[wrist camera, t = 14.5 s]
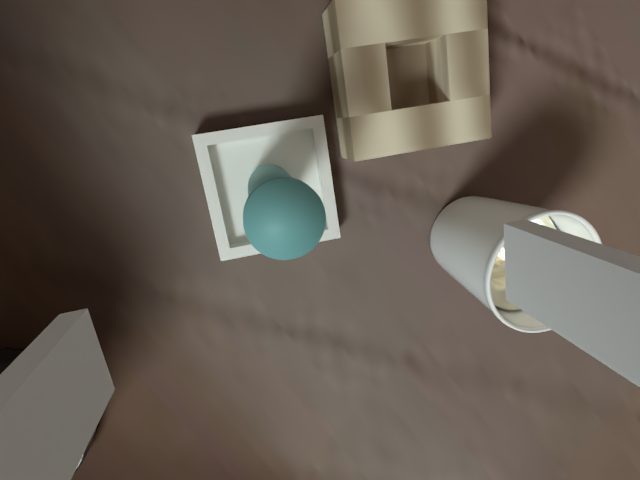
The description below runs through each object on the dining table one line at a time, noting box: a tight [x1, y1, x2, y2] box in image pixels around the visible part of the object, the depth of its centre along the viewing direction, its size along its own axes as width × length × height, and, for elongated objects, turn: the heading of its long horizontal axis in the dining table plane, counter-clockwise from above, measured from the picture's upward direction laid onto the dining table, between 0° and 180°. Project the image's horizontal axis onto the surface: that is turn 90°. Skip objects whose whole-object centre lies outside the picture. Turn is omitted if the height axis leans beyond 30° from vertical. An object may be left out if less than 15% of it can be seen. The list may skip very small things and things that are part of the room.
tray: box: [192, 115, 341, 261], centre depth 37 cm, size 11×11×2 cm
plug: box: [243, 164, 326, 260], centre depth 31 cm, size 5×5×14 cm
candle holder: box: [430, 196, 602, 333], centre depth 37 cm, size 10×10×12 cm
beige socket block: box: [322, 0, 491, 162], centre depth 35 cm, size 12×12×5 cm
